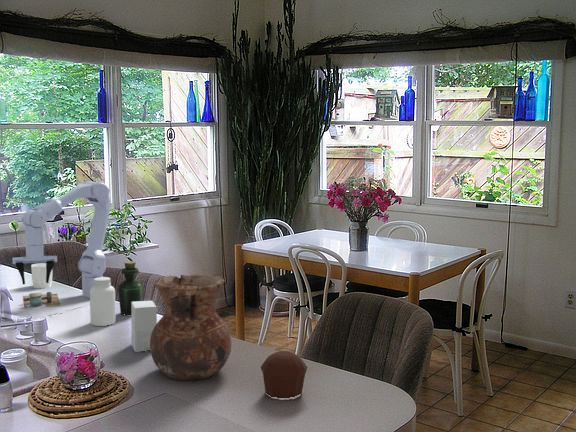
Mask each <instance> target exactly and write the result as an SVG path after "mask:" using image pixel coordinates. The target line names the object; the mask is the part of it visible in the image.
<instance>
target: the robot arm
mask: <svg viewBox="0 0 576 432" xmlns="http://www.w3.org/2000/svg"><path fill="white" fill-rule="evenodd" d="M110 191H111V190H110V188H109V187H108V186H107V184H105V182H103V181H92V180H84V181H83V182H80V183H78V184H77V185H76V186H75V187H73V188H72V189H71V190H68V192H66V193H65V194H63V195H62V196H60V197H59V198H57V199H56V198H47V199H45V202H44V203H42V204H40V205H38V206H37V205H36V206H34V209H29V210H26V211H25V212H24V214H23V215H22V218H21V223H22V224H23V225H24V227H25V228H24V229H25V230H24V231H25V232H24V233H25V234H24V235H25V256H20V257H12V259H11V260H12V265H15V267H16V269H17V271H18V272H19V273H18V274H19V275H20V278H21V281H22V285H25V284H26V280H25V279H26V278H25V264H37V263H46V283H49V277H50V273H51V271H52V272H53V269H54V266H55V263H58V256H57V255H45V253H44V226H45V225H46V223H47V221H49V220H50V219H52V218H54V217H56V216H58V215H59V214H60V213H62V211H63V207H65V206H68V205H70V204H71V203H73V202H75V201H77V200H79V199H81V198H85V199H87V200H88V201H90V203H91V204H92V206H93V207H94V211H93V216H92V222H91V226H90V233H89V237H88V242H87V243H88V244H87V248H86V249H85V250H84V251H83V252H82V255H81V258H80V260H79V261H78V264H77V265H78V270H79V271H80V272H81V276H82V277H81V282H82V283H81V285H82V288H81V289H82V294H81V295H82V297H83V298H87V299H88V298H89V299H90V290H91V288H92V287H94V286H95V285H94V279H95V278H98V277H104V276H103V275H104V273H105V272H106V270H107V269H106V268H107V264H106V255H105V254H104V252H103V250H104V242H105V239H106V234H107V227H108V222H109V217H110V211H111V207H112V205H111V204H112V203H111V199H110Z"/></svg>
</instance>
